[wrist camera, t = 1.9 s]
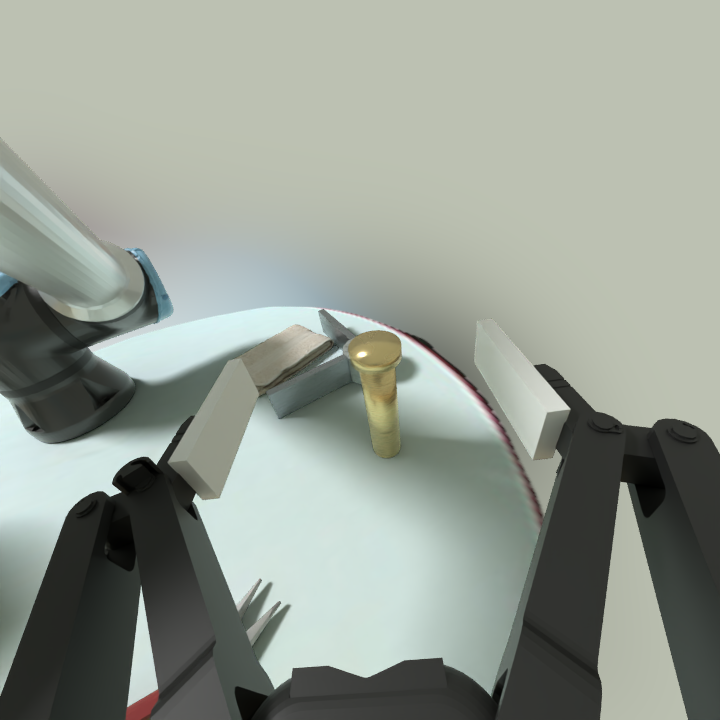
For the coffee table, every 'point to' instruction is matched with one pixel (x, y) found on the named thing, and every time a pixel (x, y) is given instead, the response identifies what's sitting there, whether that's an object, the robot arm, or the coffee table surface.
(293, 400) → the hinge
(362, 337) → the hinge pin
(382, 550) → the coffee table surface
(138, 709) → the pliers
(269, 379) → the washcloth
